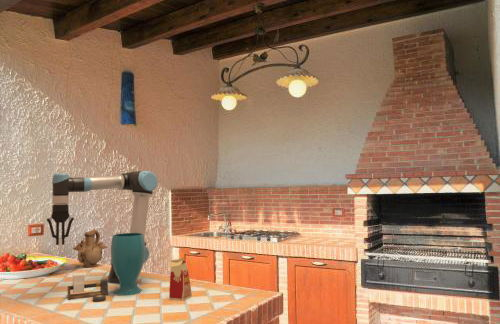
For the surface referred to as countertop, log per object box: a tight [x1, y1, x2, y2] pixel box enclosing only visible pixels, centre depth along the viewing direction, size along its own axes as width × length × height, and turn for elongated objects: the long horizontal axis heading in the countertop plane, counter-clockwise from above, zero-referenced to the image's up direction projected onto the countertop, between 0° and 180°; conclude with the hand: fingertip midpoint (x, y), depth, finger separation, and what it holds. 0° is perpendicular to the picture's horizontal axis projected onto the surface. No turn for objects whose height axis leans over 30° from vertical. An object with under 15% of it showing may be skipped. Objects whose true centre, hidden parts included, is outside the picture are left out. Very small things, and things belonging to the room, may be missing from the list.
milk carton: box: [168, 257, 193, 301], centre depth 222 cm, size 9×9×20 cm
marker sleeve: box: [72, 273, 85, 294], centre depth 226 cm, size 5×4×8 cm
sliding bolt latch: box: [66, 278, 109, 301], centre depth 228 cm, size 19×7×7 cm, turn 116°
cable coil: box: [92, 295, 107, 303], centre depth 219 cm, size 6×6×2 cm
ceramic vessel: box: [72, 228, 108, 268], centre depth 309 cm, size 18×19×25 cm
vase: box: [110, 232, 146, 296], centre depth 236 cm, size 17×17×30 cm
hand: (60, 251), depth 223 cm, fingers closed
